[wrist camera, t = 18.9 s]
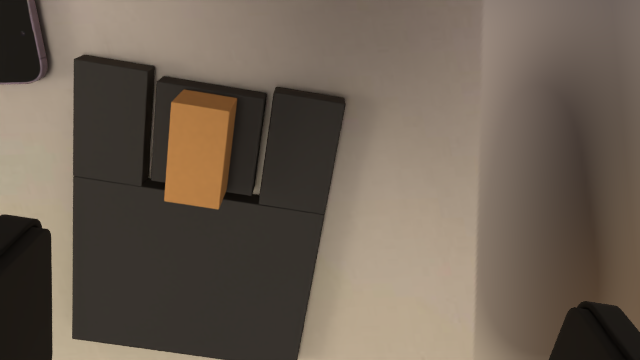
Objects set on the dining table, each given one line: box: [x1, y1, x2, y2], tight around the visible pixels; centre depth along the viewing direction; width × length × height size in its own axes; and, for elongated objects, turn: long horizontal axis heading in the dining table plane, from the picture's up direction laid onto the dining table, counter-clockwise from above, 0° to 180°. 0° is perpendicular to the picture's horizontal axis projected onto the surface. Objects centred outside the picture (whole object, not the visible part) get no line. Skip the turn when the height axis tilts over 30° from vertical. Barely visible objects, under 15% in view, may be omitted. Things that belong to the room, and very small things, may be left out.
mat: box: [72, 55, 345, 360], centre depth 38 cm, size 20×16×2 cm
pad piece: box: [151, 76, 267, 209], centre depth 34 cm, size 6×6×4 cm
